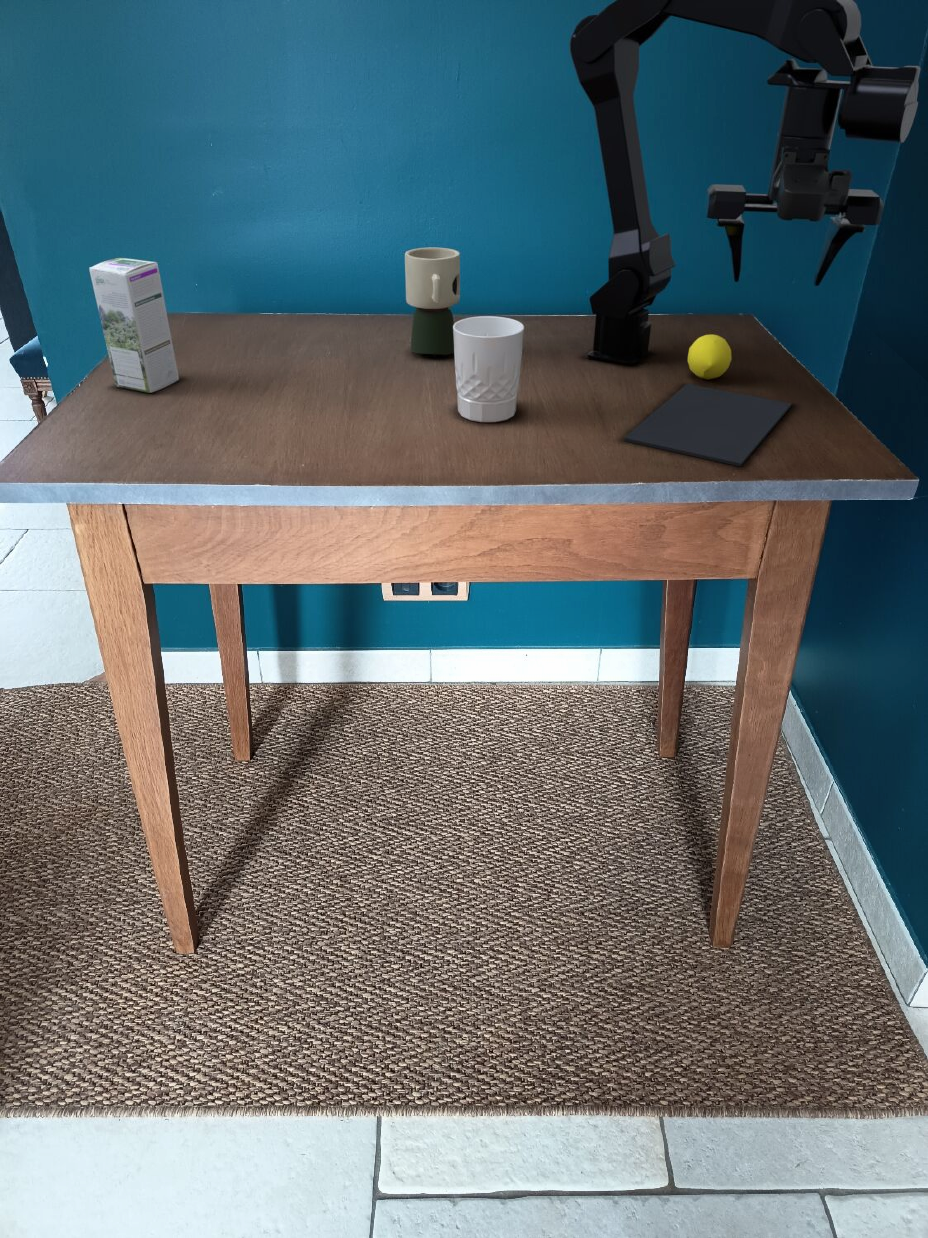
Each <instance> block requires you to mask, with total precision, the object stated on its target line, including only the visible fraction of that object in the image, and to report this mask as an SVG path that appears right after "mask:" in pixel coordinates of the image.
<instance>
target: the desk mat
mask: <svg viewBox="0 0 928 1238" xmlns="http://www.w3.org/2000/svg"><path fill="white" fill-rule="evenodd" d="M792 405H793V403H792V402H787V401H781V400H776V399H771V398H765V397H761V396H755V395H750V394H745V393H738V392H734V391H729V390H723V389H717V388H714V387H713V388H712V387H708V386H702V385H697V384H692V383H686V384H685V385H684V386H682V387H681V388H680V389H678V391H676V392H675V393H674V394H673V395H671V397H670V398H669V399H667V400H666V401H665V402H664V403H663V404H661V405H660V406H659V407H658V408H657V409H656V410H654V411H653V412H652V413H651V414H650V415H649V416H648V417H646V418H645V419H644V420H643V421H642V422H640V423H639V424H638V425H637V426H636V427H635V428H634V429H632V430H631V431H630V432H629V433H627V434H626V436H624V438H623V441H624V442H627V443H628V442H629V443H632V444H636V445H641V446H645V447H650V448H655V449H660V450H663V451H664V450H665V451H668V452H674V453H678V454H681V455H686V456H691V457H695V458H700V459H703V460H708V461H714V462H717V463H723V464H726V465H730V466H736V467H742V466H743V465H744V464H745V462H746V461H747V460H748V459H749V458H750V456H751V455H752V454H753V453H754V452H755V451H756V449H757V448H758V447H759V445H760V444H761V443H762V442H763V441H764V440H765V439H766V437H767V436H768V435H769V433H771V431H773V429H774V428H775V427H776V426H777V424H778V423H779V422H780V421H781V420H782V418H783V417H784V416H785V415H786V413H787V412H788V411H789V410H790V409H791V407H792Z"/></svg>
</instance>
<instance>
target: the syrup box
mask: <svg viewBox="0 0 928 1238" xmlns="http://www.w3.org/2000/svg"><path fill="white" fill-rule="evenodd" d="M88 269H89V274H90V280H91V283H92V289H93V292H94V296H95V301H96V305H97V306H96V307H97V310H98V314H99V318H100V319H99V320H100V323H101V327H102V333H103V336H104V337H103V338H104V341H105V345H106V350H107V353H108V358H109V363H110V367H111V371H112V376H113V380H114V381H113V382H114V385H115V387H116V388H120V389H121V388H122V389H127V390H131V391H138V392H143V393H146V394H147V393H148V394H151V393H155V392H158V391H160V390H162V389H165V388H166V387H168V386H170V385H172V384H175V383H176V382H177V381H179V380H180V377H179V372H178V365H177V362H176V361H177V360H176V356H175V351H174V345H173V339H172V335H171V329H170V324H169V319H168V313H167V307H166V302H165V301H166V300H165V296H164V290H163V285H162V279H161V273H160V267H159V265H158V262H156V261H149V260H142V259H133V258H127V257H116V258H112V259H108V260H105V261H101V262H99V263H97V264H94V265H93V266H90V267H88Z"/></svg>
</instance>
